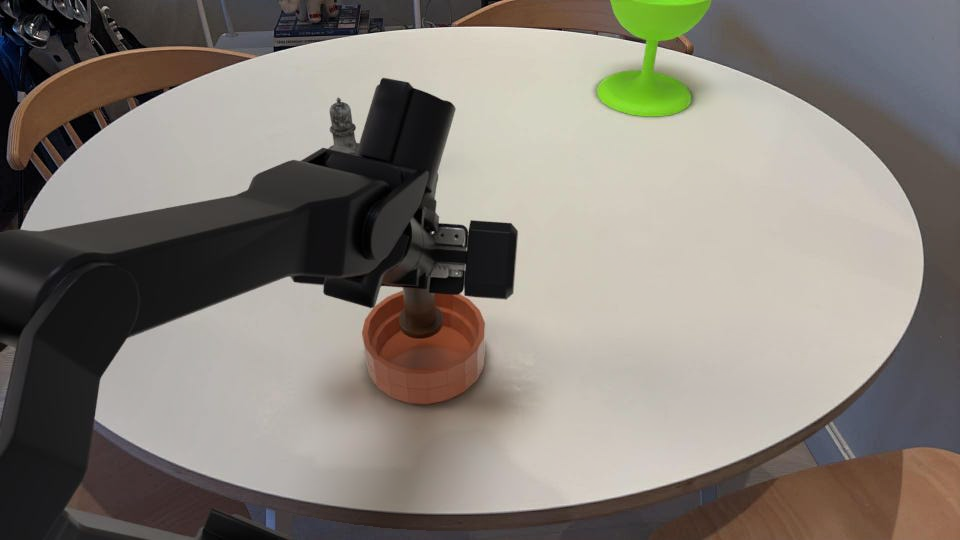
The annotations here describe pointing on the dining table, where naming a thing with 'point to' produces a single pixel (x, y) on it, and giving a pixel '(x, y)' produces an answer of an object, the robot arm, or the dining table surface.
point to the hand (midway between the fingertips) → (420, 263)
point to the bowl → (425, 351)
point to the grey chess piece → (342, 128)
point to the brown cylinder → (420, 313)
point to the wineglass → (651, 57)
